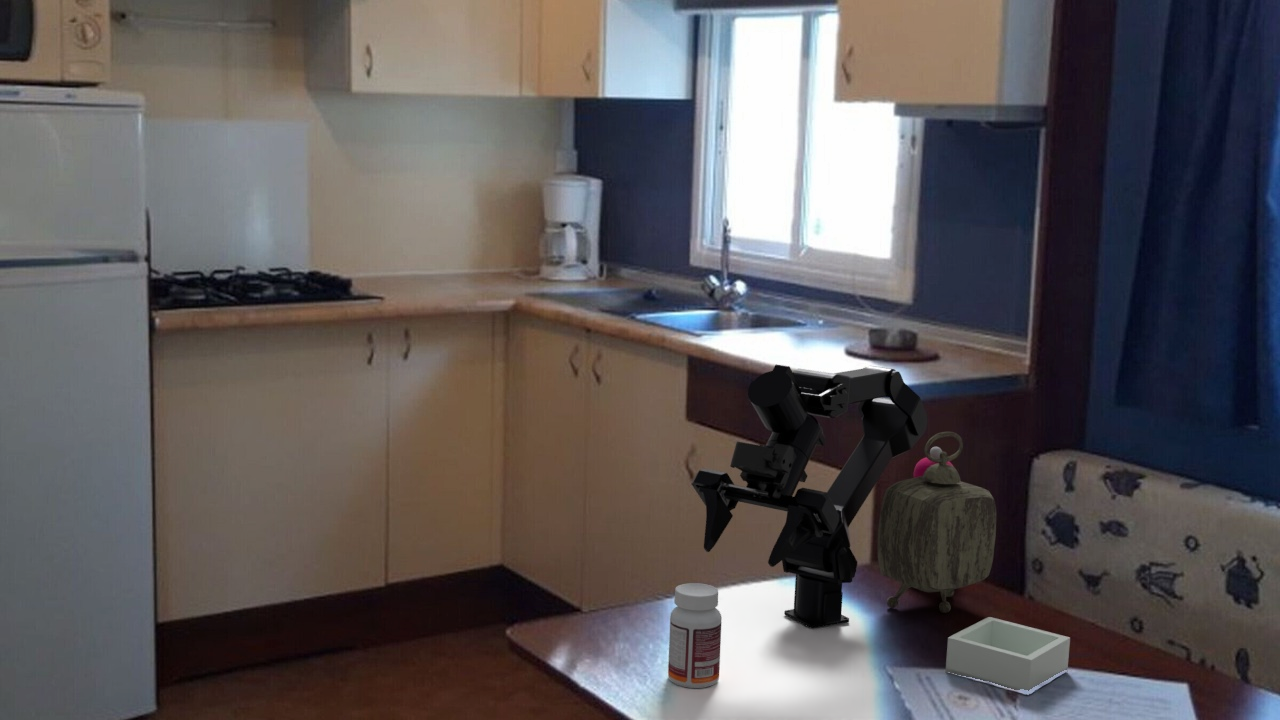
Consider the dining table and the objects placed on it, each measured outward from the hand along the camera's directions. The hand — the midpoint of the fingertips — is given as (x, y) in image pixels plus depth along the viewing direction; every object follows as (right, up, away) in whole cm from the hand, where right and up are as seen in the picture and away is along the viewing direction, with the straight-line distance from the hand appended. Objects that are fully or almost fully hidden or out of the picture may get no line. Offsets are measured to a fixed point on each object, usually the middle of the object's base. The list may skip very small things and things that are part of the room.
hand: (737, 557), depth 191 cm
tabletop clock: (+29, -11, +26) cm, 40 cm away
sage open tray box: (+33, -15, +2) cm, 37 cm away
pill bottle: (-6, -14, -4) cm, 16 cm away
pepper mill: (+30, -8, +39) cm, 50 cm away
